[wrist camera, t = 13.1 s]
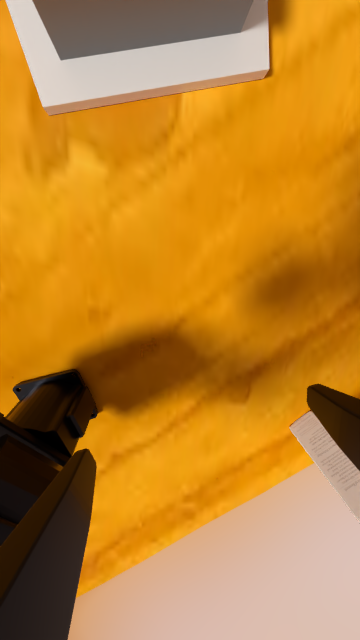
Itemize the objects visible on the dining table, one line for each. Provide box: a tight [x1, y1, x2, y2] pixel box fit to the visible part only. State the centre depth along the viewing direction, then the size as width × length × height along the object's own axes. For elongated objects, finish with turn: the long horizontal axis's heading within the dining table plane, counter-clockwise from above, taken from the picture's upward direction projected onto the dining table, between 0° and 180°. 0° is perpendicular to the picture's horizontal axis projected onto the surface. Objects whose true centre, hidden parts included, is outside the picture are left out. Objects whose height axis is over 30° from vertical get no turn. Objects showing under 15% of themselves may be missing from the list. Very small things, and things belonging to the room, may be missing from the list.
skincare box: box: [289, 411, 360, 523], centre depth 23 cm, size 6×4×12 cm
